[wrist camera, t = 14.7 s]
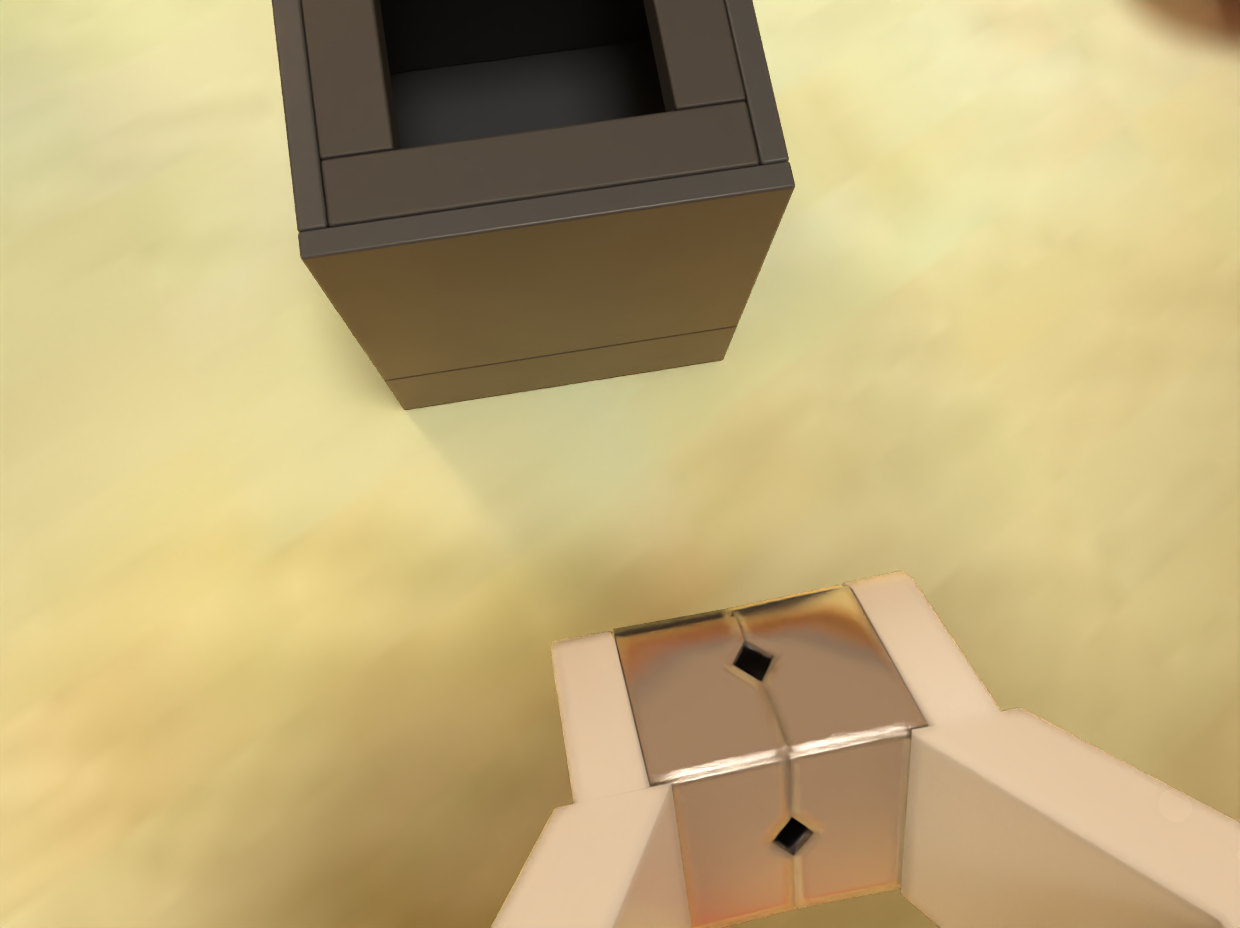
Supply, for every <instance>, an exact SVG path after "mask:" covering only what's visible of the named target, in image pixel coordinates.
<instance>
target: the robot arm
mask: <svg viewBox="0 0 1240 928" xmlns="http://www.w3.org/2000/svg"><path fill="white" fill-rule="evenodd" d="M613 636H614V637H613ZM551 656H552V663H553V670H554V676H555V683H556V690H557V696H558V703H559V710H560V716H561V723H562V730H563V736H564V743H565V750H566V756H567V763H568V770H569V776H570V783H571V790H572V796H573V804H569V805H565V806H561V807H556V808H554V810H553V812H552V814H551V815H550V817H549V819H548V821H547V823H546V825H545V827H544V829H543V830H542V832H541V834H540V836H539V838H538V840H537V842H536V844H535V845H534V847H533V849H532V851H531V853H530V855H529V857H528V859H527V860H526V862H525V864H524V866H523V868H522V870H521V872H520V873H519V875H518V877H517V879H516V881H515V883H514V885H513V887H512V888H511V890H510V892H509V894H508V896H507V898H506V900H505V902H504V903H503V905H502V907H501V909H500V911H499V913H498V915H497V917H496V918H495V920H494V922H493V924H492V926H491V928H724V927H727V926H731V925H735V924H739V923H743V922H747V921H751V920H754V919H758V918H762V917H766V916H770V915H774V914H778V913H782V912H785V911H789V910H793V909H798V908H803V907H808V906H813V905H818V904H823V903H828V902H833V901H838V900H843V899H848V898H853V897H858V896H864V895H869V894H874V893H879V892H884V891H889V890H894V889H899V888H901V895H903V896H904V897H905V898H906V899H907V900H908V901H910V902H911V903H912V904H913V905H914V906H915V907H917V908H918V909H919V910H920V911H921V912H922V913H924V914H925V915H926V916H927V917H928V918H929V919H931V920H932V921H933V922H934V923H935V924H936V925H937V926H939V927H940V928H1240V822H1238V821H1237V820H1235V819H1233V818H1231V817H1229V816H1227V815H1225V814H1223V813H1221V812H1219V811H1217V810H1216V809H1214V808H1212V807H1210V806H1208V805H1206V804H1204V803H1202V802H1200V801H1198V800H1196V799H1194V798H1193V797H1191V796H1189V795H1187V794H1185V793H1183V792H1181V791H1179V790H1177V789H1175V788H1173V787H1172V786H1170V785H1168V784H1166V783H1164V782H1162V781H1160V780H1158V779H1156V778H1154V777H1152V776H1151V775H1149V774H1147V773H1145V772H1143V771H1141V770H1139V769H1137V768H1135V767H1133V766H1131V765H1130V764H1128V763H1126V762H1124V761H1122V760H1120V759H1118V758H1116V757H1114V756H1112V755H1110V754H1108V753H1107V752H1105V751H1103V750H1101V749H1099V748H1097V747H1095V746H1093V745H1091V744H1089V743H1087V742H1086V741H1084V740H1082V739H1080V738H1078V737H1076V736H1074V735H1072V734H1070V733H1068V732H1066V731H1065V730H1063V729H1061V728H1059V727H1057V726H1055V725H1053V724H1051V723H1049V722H1047V721H1045V720H1044V719H1042V718H1040V717H1038V716H1036V715H1034V714H1032V713H1030V712H1028V711H1026V710H1024V709H1022V708H1015V709H1010V710H1004V711H1001V709H1000V708H999V706H998V705H997V703H996V702H995V700H994V699H993V697H992V696H991V694H990V693H989V691H988V690H987V688H986V687H985V685H984V684H983V682H982V681H981V679H980V678H979V676H978V675H977V674H976V672H975V671H974V669H973V668H972V666H971V665H970V663H969V662H968V660H967V659H966V657H965V656H964V654H963V653H962V651H961V650H960V648H959V647H958V645H957V644H956V642H955V641H954V639H953V638H952V636H951V635H950V634H949V632H948V631H947V629H946V628H945V626H944V625H943V623H942V622H941V620H940V619H939V617H938V616H937V614H936V613H935V611H934V610H933V608H932V607H931V605H930V604H929V602H928V601H927V599H926V598H925V596H924V595H923V593H922V592H921V591H920V589H919V588H918V586H917V585H916V583H915V582H914V580H913V579H912V577H911V576H909V575H907V574H906V573H904V572H902V571H896V572H891V573H887V574H882V575H878V576H873V577H869V578H864V579H860V580H855V581H851V582H846V583H843V585H842V586H841V585H835V586H831V587H826V588H821V589H816V590H812V591H807V592H802V593H797V594H793V595H788V596H783V597H779V598H774V599H769V600H764V601H760V602H755V603H750V604H746V605H741V606H736V607H731V608H727V609H723V610H717V611H712V612H706V613H701V614H695V615H689V616H684V617H678V618H673V619H667V620H662V621H656V622H650V623H645V624H639V625H634V626H628V627H622V628H617V629H613V634H612V632H611V631H608V632H602V633H597V634H591V635H585V636H579V637H574V638H568V639H562V640H557V641H552V652H551Z"/></svg>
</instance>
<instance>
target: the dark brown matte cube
mask: <svg viewBox="0 0 1240 928" xmlns="http://www.w3.org/2000/svg"><path fill="white" fill-rule="evenodd" d="M272 7H273V16H274V25H275V34H276V42H277V51H278V60H279V69H280V78H281V87H282V96H283V105H284V113H285V122H286V131H287V140H288V149H289V158H290V167H291V176H292V185H293V193H294V202H295V211H296V220H297V229H298V231H299V232H300V233H299V234H298V239H299V247H300V256H301V259H302V260H303V262H304V263H305V265H306V266H307V268H308V269H309V271H310V272H311V273H312V275H313V276H314V278H315V279H316V281H317V282H318V284H319V285H320V287H321V288H322V290H323V291H324V293H325V294H326V295H327V297H328V298H329V300H330V301H331V303H332V304H333V306H334V307H335V309H336V310H337V312H338V313H339V314H340V316H341V317H342V319H343V320H344V322H345V323H346V325H347V326H348V328H349V329H350V331H351V332H352V333H353V335H354V336H355V338H356V339H357V341H358V342H359V344H360V345H361V347H362V348H363V350H364V351H365V353H366V354H367V355H368V357H369V358H370V360H371V361H372V363H373V364H374V366H375V367H376V369H377V370H378V372H379V373H380V374H381V376H382V377H383V379H384V381H385V382H386V384H387V385H388V386H389V388H390V389H391V391H392V392H393V394H394V395H395V397H396V398H397V400H398V401H399V403H400V404H401V405H402V407H403V408H404V409H405V410H407V409H413V408H420V407H426V406H433V405H439V404H445V403H452V402H458V401H464V400H471V399H477V398H483V397H490V396H496V395H502V394H509V393H515V392H521V391H528V390H534V389H540V388H547V387H553V386H560V385H566V384H572V383H579V382H585V381H591V380H598V379H604V378H610V377H617V376H623V375H629V374H636V373H642V372H648V371H655V370H661V369H667V368H674V367H680V366H687V365H693V364H699V363H706V362H712V361H718V360H723V359H724V356H725V354H726V351H727V349H728V347H729V344H730V342H731V339H732V337H733V335H734V332H735V330H736V327H737V325H738V322H739V320H740V317H741V315H742V313H743V310H744V308H745V305H746V303H747V300H748V298H749V296H750V293H751V291H752V288H753V286H754V284H755V281H756V279H757V276H758V274H759V272H760V269H761V267H762V264H763V262H764V260H765V257H766V255H767V252H768V250H769V248H770V245H771V243H772V240H773V238H774V236H775V233H776V231H777V228H778V226H779V224H780V221H781V219H782V216H783V214H784V212H785V209H786V207H787V204H788V202H789V200H790V197H791V195H792V192H793V190H794V188H795V183H794V178H793V174H792V170H791V166H790V163H789V162H788V160H789V157H788V153H787V149H786V144H785V140H784V136H783V131H782V127H781V123H780V118H779V114H778V110H777V105H776V101H775V97H774V92H773V88H772V84H771V79H770V75H769V71H768V67H767V62H766V58H765V54H764V49H763V45H762V41H761V36H760V32H759V28H758V23H757V19H756V15H755V10H754V6H753V2H752V0H272Z"/></svg>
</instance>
